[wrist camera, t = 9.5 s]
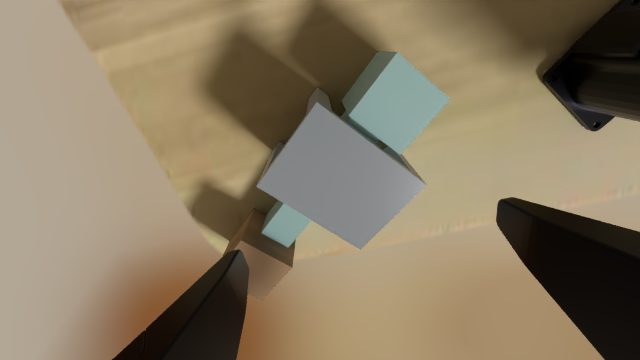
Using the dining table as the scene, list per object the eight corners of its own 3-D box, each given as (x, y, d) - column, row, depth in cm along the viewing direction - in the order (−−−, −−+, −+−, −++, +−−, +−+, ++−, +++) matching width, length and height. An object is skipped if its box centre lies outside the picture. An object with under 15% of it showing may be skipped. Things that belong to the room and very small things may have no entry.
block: (296, 232, 25) (292, 267, 21) (270, 261, 26) (262, 300, 22) (254, 207, 24) (241, 240, 19) (230, 240, 25) (213, 277, 21)
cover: (398, 149, 21) (426, 184, 16) (350, 202, 23) (360, 249, 18) (317, 86, 19) (316, 101, 14) (272, 151, 21) (256, 186, 16)
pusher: (419, 88, 19) (450, 99, 15) (297, 232, 25) (292, 273, 20) (377, 51, 18) (397, 52, 14) (259, 211, 24) (246, 249, 19)
